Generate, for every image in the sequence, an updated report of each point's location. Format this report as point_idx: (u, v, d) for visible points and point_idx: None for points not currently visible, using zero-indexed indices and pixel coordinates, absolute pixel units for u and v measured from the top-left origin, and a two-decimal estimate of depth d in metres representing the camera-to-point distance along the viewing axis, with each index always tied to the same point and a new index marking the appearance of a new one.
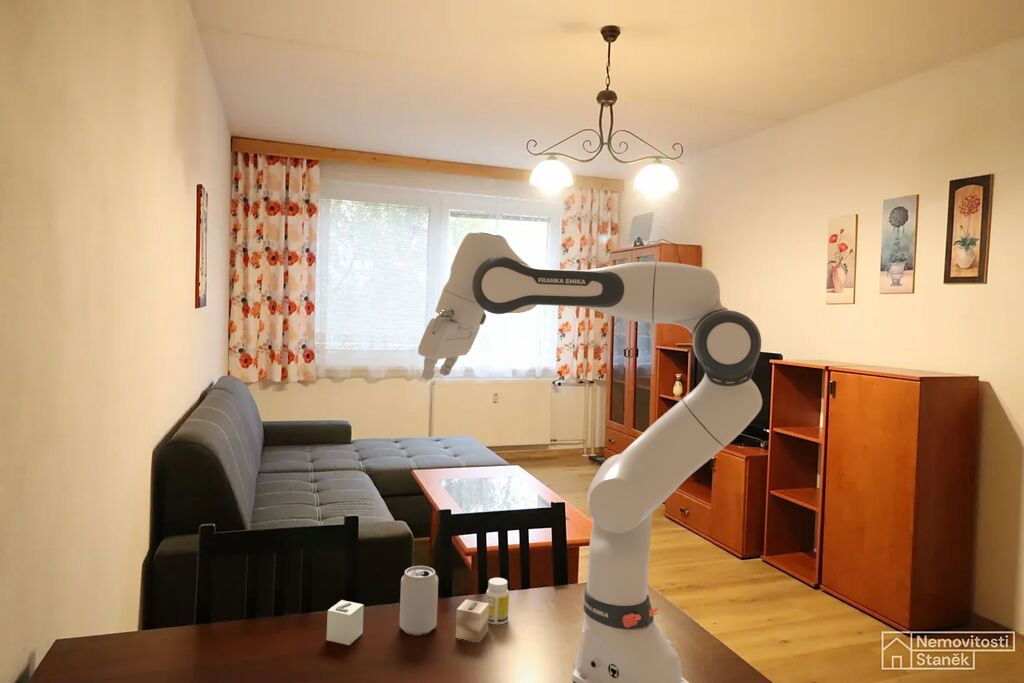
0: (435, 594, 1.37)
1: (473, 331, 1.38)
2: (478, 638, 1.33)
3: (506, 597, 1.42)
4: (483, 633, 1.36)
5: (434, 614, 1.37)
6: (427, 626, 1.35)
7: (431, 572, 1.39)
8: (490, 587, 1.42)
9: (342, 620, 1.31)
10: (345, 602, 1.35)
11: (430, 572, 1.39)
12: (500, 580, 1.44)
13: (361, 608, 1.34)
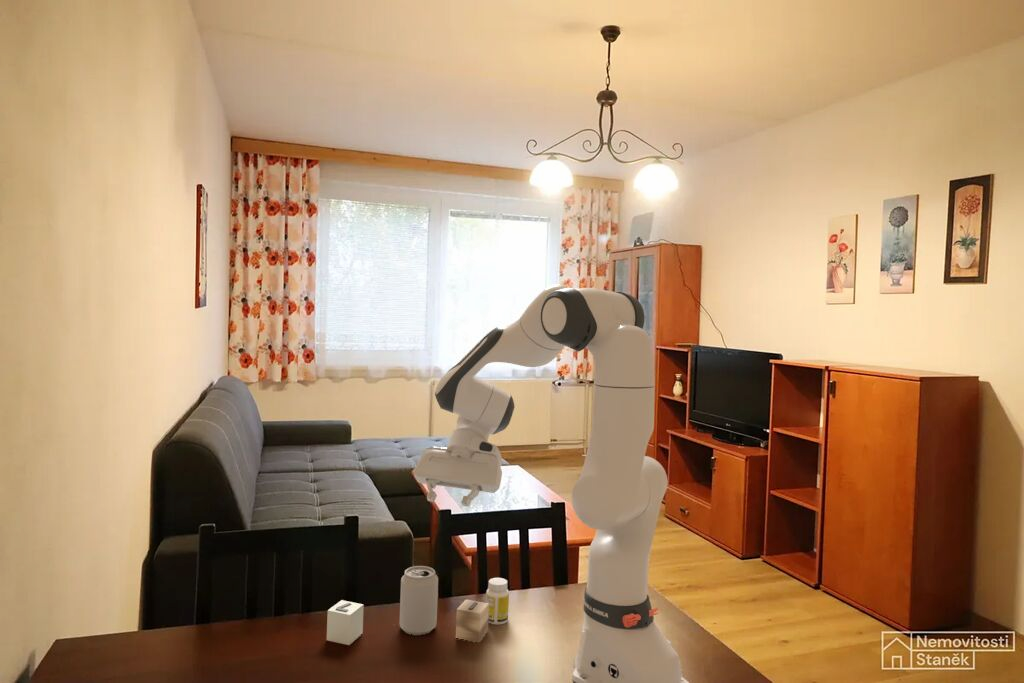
0: (435, 594, 1.37)
1: (489, 462, 1.53)
2: (478, 638, 1.33)
3: (506, 597, 1.42)
4: (483, 633, 1.36)
5: (434, 614, 1.37)
6: (427, 626, 1.35)
7: (431, 572, 1.39)
8: (490, 587, 1.42)
9: (342, 620, 1.31)
10: (345, 602, 1.35)
11: (430, 572, 1.39)
12: (500, 580, 1.44)
13: (361, 608, 1.34)
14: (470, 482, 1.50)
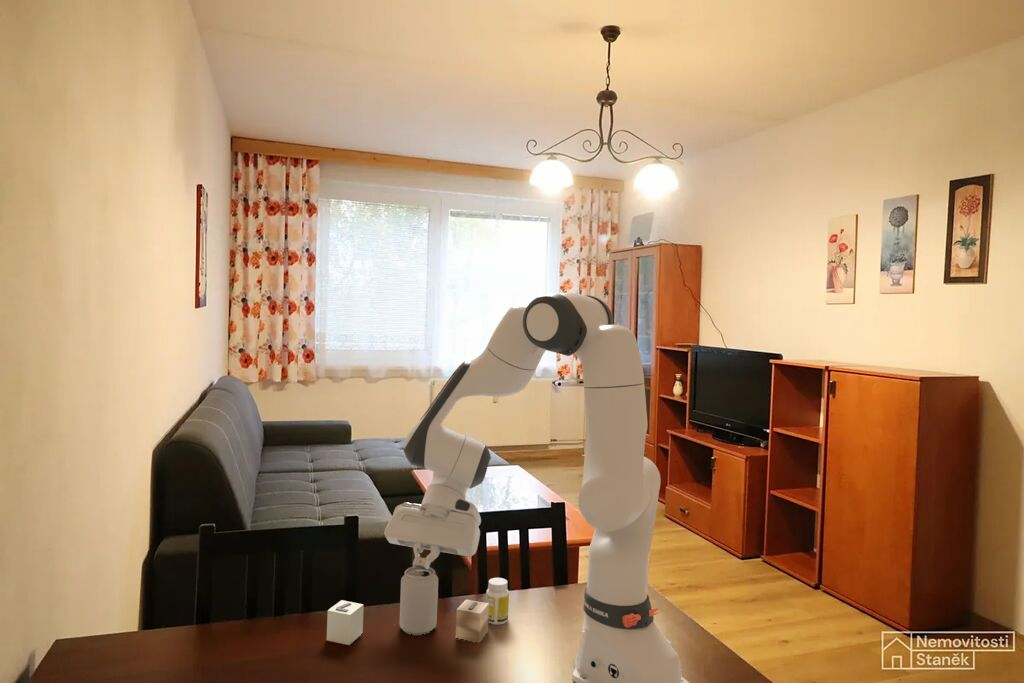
0: (435, 594, 1.37)
1: (465, 523, 1.41)
2: (478, 638, 1.33)
3: (506, 597, 1.42)
4: (483, 633, 1.36)
5: (434, 614, 1.37)
6: (427, 626, 1.35)
7: (431, 572, 1.39)
8: (490, 587, 1.42)
9: (342, 620, 1.31)
10: (345, 602, 1.35)
11: (430, 572, 1.39)
12: (500, 580, 1.44)
13: (361, 608, 1.34)
14: (445, 545, 1.39)
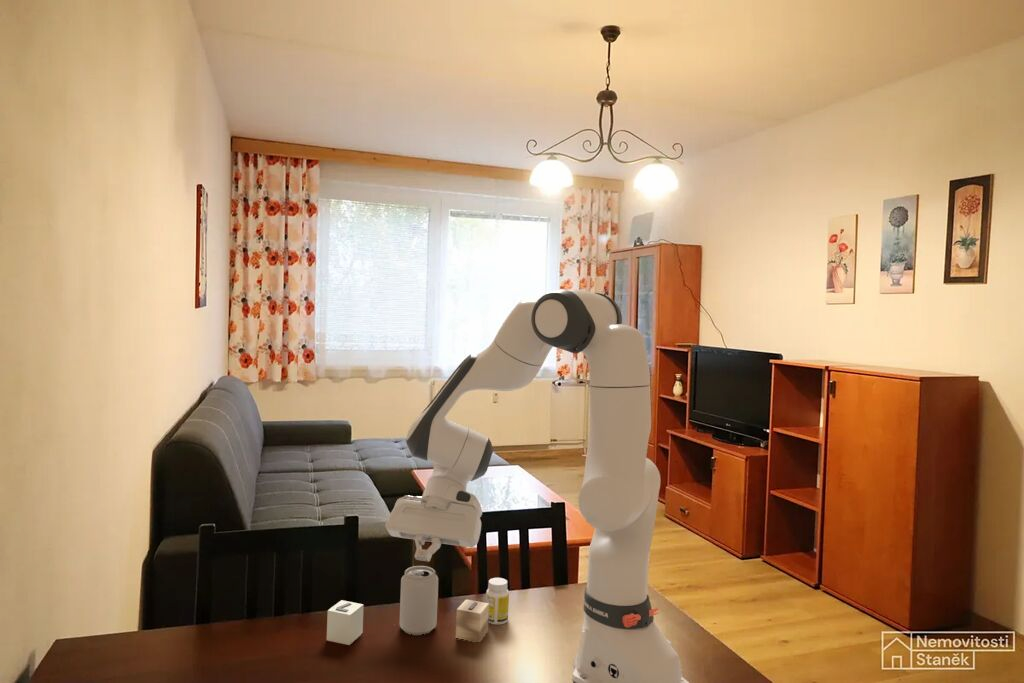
0: (435, 594, 1.37)
1: (466, 514, 1.41)
2: (478, 638, 1.33)
3: (506, 597, 1.42)
4: (483, 633, 1.36)
5: (434, 614, 1.37)
6: (426, 626, 1.35)
7: (431, 572, 1.39)
8: (490, 587, 1.42)
9: (342, 620, 1.31)
10: (345, 602, 1.35)
11: (430, 572, 1.39)
12: (500, 580, 1.44)
13: (361, 608, 1.34)
14: (446, 536, 1.38)
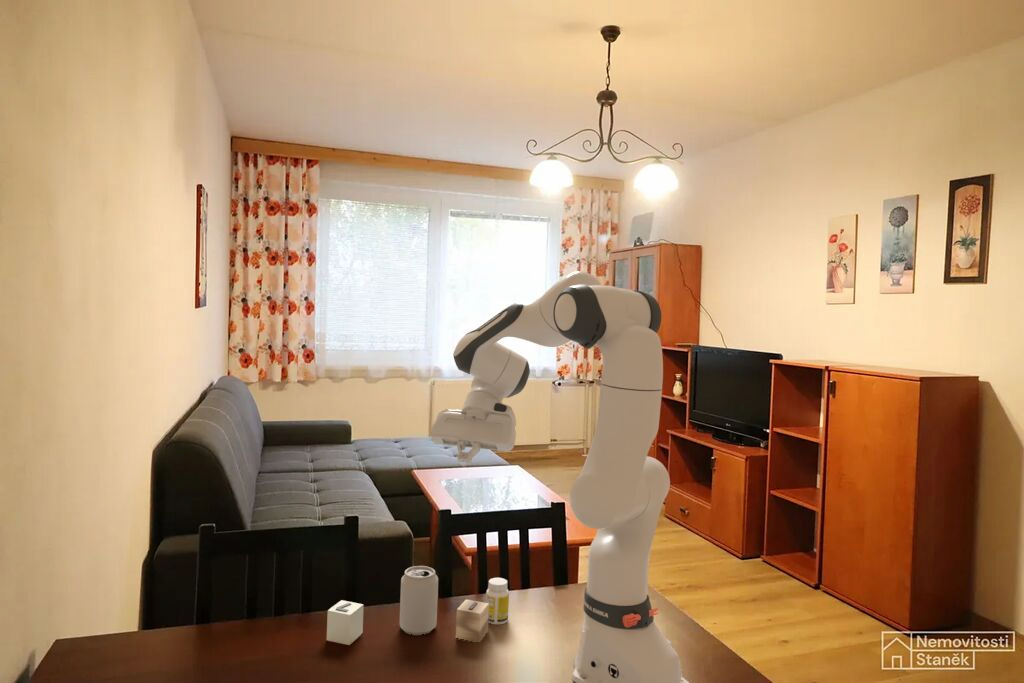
0: (435, 594, 1.37)
1: (503, 422, 1.56)
2: (478, 638, 1.33)
3: (506, 597, 1.42)
4: (483, 633, 1.36)
5: (434, 614, 1.37)
6: (426, 626, 1.35)
7: (431, 572, 1.39)
8: (490, 587, 1.42)
9: (342, 620, 1.31)
10: (345, 602, 1.35)
11: (430, 572, 1.39)
12: (500, 580, 1.44)
13: (361, 608, 1.34)
14: (485, 441, 1.54)
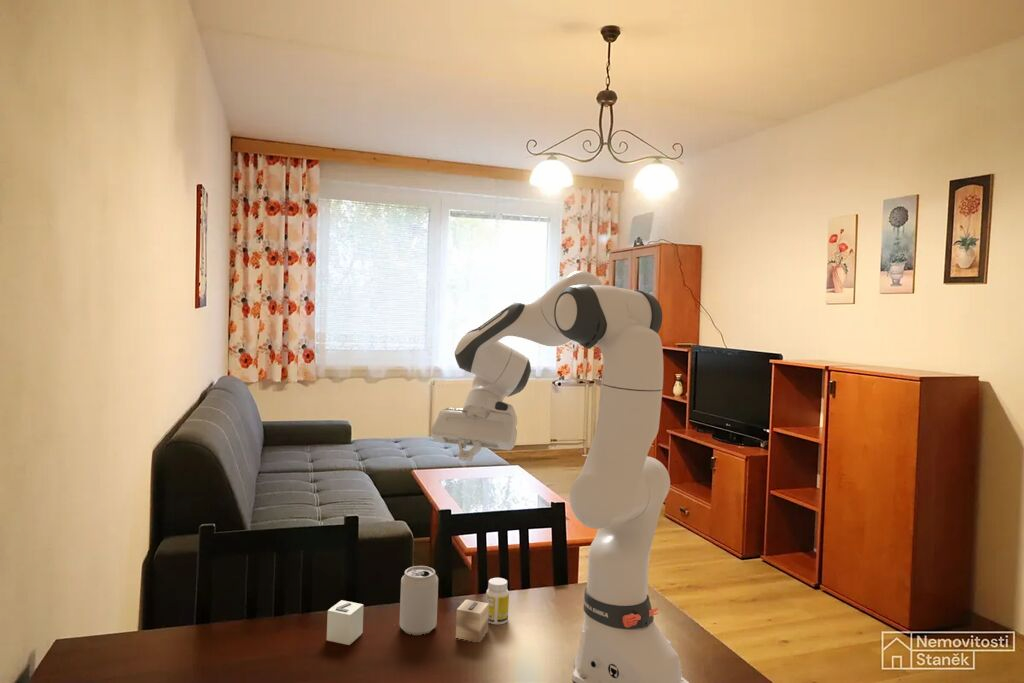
0: (435, 594, 1.37)
1: (504, 421, 1.57)
2: (478, 638, 1.33)
3: (506, 597, 1.42)
4: (483, 633, 1.36)
5: (434, 614, 1.37)
6: (426, 626, 1.35)
7: (431, 572, 1.39)
8: (490, 587, 1.42)
9: (342, 620, 1.31)
10: (345, 602, 1.35)
11: (430, 572, 1.39)
12: (500, 580, 1.44)
13: (361, 608, 1.34)
14: (486, 439, 1.54)
